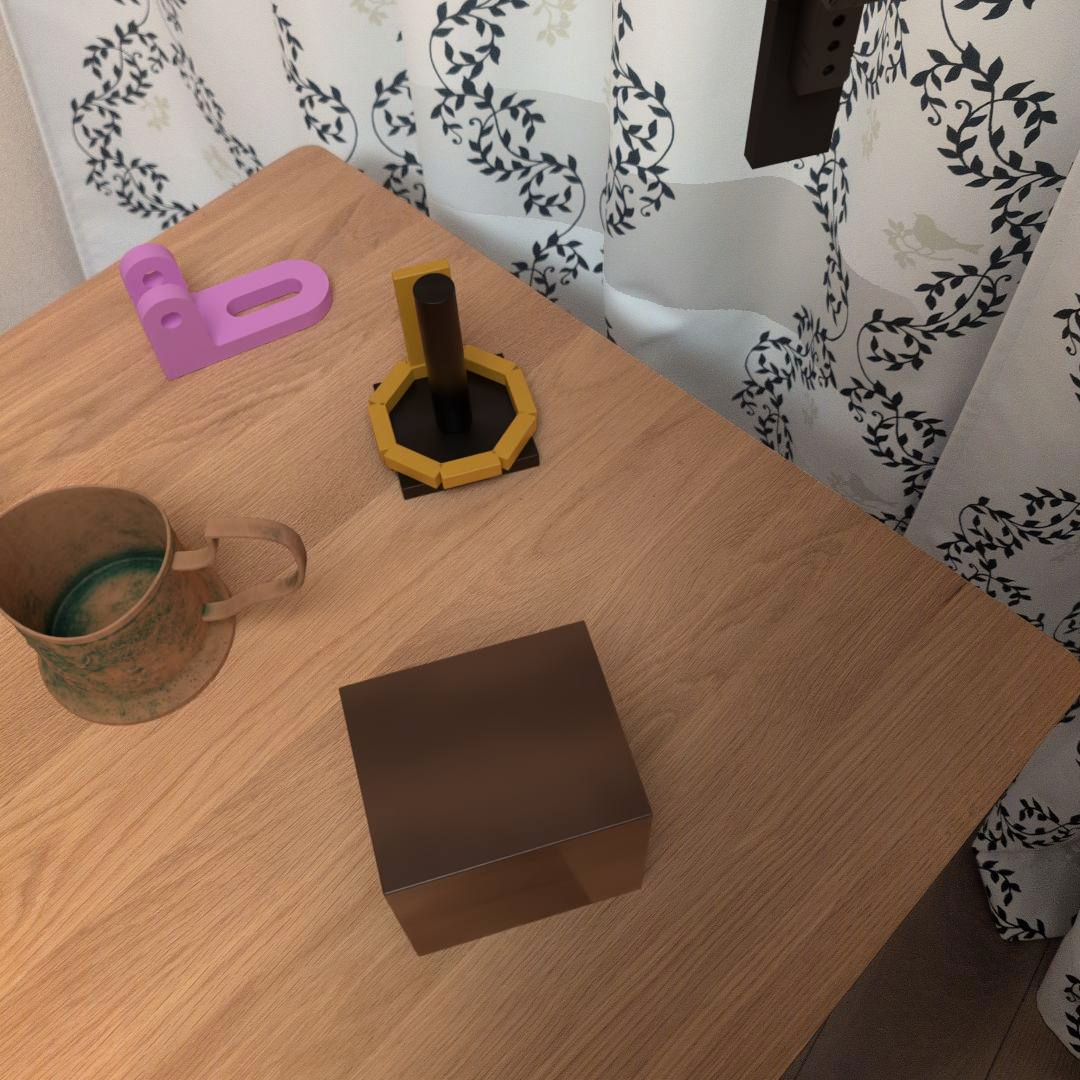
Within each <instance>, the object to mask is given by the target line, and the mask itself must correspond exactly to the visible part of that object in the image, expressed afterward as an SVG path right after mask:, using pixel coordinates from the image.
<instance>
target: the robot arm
mask: <svg viewBox="0 0 1080 1080" xmlns="http://www.w3.org/2000/svg"><path fill="white" fill-rule="evenodd" d="M882 1H883V2H884V0H766V1H765V6H764V7H765V8H764V13H763V20H762V26H761V27H762V28H761V34H760V41H759V48H758V55H757V61H756V69H755V75H754V83H753V89H752V96H751V103H750V110H749V116H748V123H747V131H746V137H745V144H744V150H743V156H744V158H745V160H746V162H747V163H748V165H749V167H750V169H751V170H757V169H761V168H766V167H770V166H775V165H779V164H783V163H787V162H791V161H796V160H800V159H805V158H810V157H813V156H817V155H822V154H826V153H829V152H830V148H831V143H832V139H833V134H834V130H835V126H836V121H837V117H838V111H839V107H840V103H841V99H842V93H843V89H844V85H845V83H846V80H847V79H848V77H849V74H850V71H851V67H852V62H853V59H852V58H853V57H854V53H855V49H856V48H855V46H856V44H857V39H858V35H859V31H860V26H861V21H862V17H863V12H864V9H865V5H870V4H873V3H878V2H882Z"/></svg>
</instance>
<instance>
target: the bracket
mask: <svg viewBox="0 0 1080 1080" xmlns="http://www.w3.org/2000/svg"><path fill="white" fill-rule="evenodd" d="M180 269H181V268H180V267H179V265H178V263H177V261H176V258H175V257H174V254H173V252H172V251H171V250H170V249H169V248H167V247H166V246H164V245H161V244H158V243H142V244H138V245H136V246H134V247H132V248H130V249H129V250H128V251H127V252H125V253H124V254H123V256H122V257H121V258H120V261H119V263H118V272H119V275H120V277H121V280H122V283H123V285H124V288H125V289H126V291H127V293H128V295H129V298H130V300H131V302H132V304H133V306H134V309H135V311H136V315H137V318H138V320H139V322H140V325H141V327H142V329H143V331H144V334H145V335H146V338H147V339H148V342H149V344H150V346H151V348H152V351H153V352H154V354H155V357H156V358H157V361H158V363H159V364H160V367H161V369H162V371H163V373H164V374H165V377H166V379H167V381H168V382H170V381H172V380H175V379H178V378H180V377H183V376H185V375H187V374H190V373H193V372H196V371H198V370H201V369H204V368H206V367H209V366H212V365H214V364H216V363H219V362H221V361H225V360H226V359H227V360H228V359H230V358H232V357H234V356H237V355H240V354H242V353H245V352H248V351H251V350H253V349H256V348H258V347H261V346H263V345H265V344H268V343H271V342H273V341H277V340H278V339H281V338H284V337H287V336H290V335H292V334H294V333H297V332H299V331H302V330H304V329H308V328H309V327H312V326H314V325H316V324H317V323H319V322H320V321H321V320H322V319H324V318H325V317H326V315H327V314H328V313H329V311H330V309H331V307H332V304H333V293H332V289H331V286H330V281H329V277H328V275H327V274H326V272H325V271H324V269H323V268H321V266H319V265H318V264H316V263H314V262H312V261H309V260H305V259H286V260H281V261H278V262H277V261H276V262H275V263H271V264H269V265H267V266H264V267H260V268H259V269H255V270H253V271H250V272H247V273H245V274H242V275H239V276H237V277H234V278H231V279H229V280H226V281H223V282H221V283H218V284H215V285H212V286H210V287H207V288H205V289H204V288H203V289H201V290H199V291H196V292H192V291H189V288H188V286H187V283H186V281H185V279H184V277H183V274H182V271H181V270H180ZM149 272H151V273H149ZM292 293H297V294H296V295H294V296H291V297H289V298H287V299H284V300H281V301H279V302H276V303H273V304H270V305H268V306H265V307H262V308H259V309H257V310H254V311H252V312H248V313H247V314H244V315H241V316H236V315H237V314H238V313H241V312H244V311H247V310H249V309H251V308H254V307H257V306H260V305H262V304H265V303H268V302H270V301H273V300H275V299H278V298H280V297H283V296H284V297H285V296H286V295H288V294H289V295H290V294H292Z"/></svg>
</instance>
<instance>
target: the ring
mask: <svg viewBox="0 0 1080 1080" xmlns="http://www.w3.org/2000/svg"><path fill="white" fill-rule="evenodd" d="M429 273H441V274H445V275H447V276H448V277H450V278H451V279H452V274H451V265H450V263H449V260H448V258H442V259H437V260H433V261H429V262H425V263H421V264H416V265H411V266H408V267H403V268H398V269H394V270H391V271H390V274H391V278H392V284H393V289H394V294H395V298H396V305H397V308H398V314H399V320H400V325H401V330H402V334H403V339H404V344H405V345H404V346H405V349H406V356H405V361H404V360H397V362H396V363H395V365H394V366H393V367H392V369H391V370H390V371H389V373H388V374H387V375H386V377H385V378H384V379H383V380H382V381H381V382H382V383H381V384H380V386H379V387H378V388H377V389H376V391H375V392H373V393H372V394H371V396H370V397H369V398H368V405H367V406H366V407H367V412H368V417H369V420H370V424H371V427H372V431H373V435H374V439H375V443H376V446H377V449H378V454H379V457H380V461H382V462H385V466H386V467H387V468H390V469H392V470H394V471H395V472H396V471H398V472H400V473H402V474H405V475H407V476H409V477H411V478H414V479H416V480H418V481H420V482H422V483H425V484H427V485H429V486H431V487H434V488H436V489H437V487H438V486H439V485H440V483H441V482H442V484H443V488H444V489H446V490H448V489H447V488H450V489H452V488H451V487H454V488H456V487H455V486H458V487H460V486H459V485H462V486H464V485H463V484H466V485H468V484H467V483H469V484H472V483H471V482H473V483H476V482H475V481H477V482H479V481H478V480H481V481H483V480H482V479H485V480H487V479H486V478H489V479H491V478H490V477H493V478H495V477H494V476H497V477H499V476H498V475H500V476H502V475H501V474H502V468H504V469H506V470H509V469H510V467H511V466H512V464H513V463H514V461H515V460H516V458H517V457H518V455H519V454H520V452H521V451H522V449H523V448H524V446H525V445H526V443H527V442H528V441H529V439H530V438H531V436H533V435H534V434H535V432H536V431H537V428H538V425H537V423H538V410H537V407H536V404H535V402H534V399H533V396H532V393H531V390H530V388H529V386H528V383H527V380H526V378H525V374H524V372H523V369H522V368H518V367H517V365H518V364H517V363H516V362H514V361H511V360H509V359H506V358H505V357H504V358H502V357H499V356H497V355H495V354H494V353H492V352H489V351H486V350H484V349H481V348H479V347H478V346H477V347H476V346H474V345H472V344H469V343H467V344H466V345H465V346H464V347H463V351H464V358H465V365H466V369H467V370H469V371H471V372H474V373H476V374H479V375H481V376H484V377H486V378H489V379H491V380H493V381H496V382H498V383H501V384H503V385H506V388H507V390H508V393H509V396H510V399H511V402H512V404H513V407H514V410H515V413H516V417H515V419H514V420H513V422H512V423H511V425H510V426H509V427H508V429H507V430H506V432H505V433H504V435H503V436H502V437H501V439H500V440H499V442H498V443H497V445H496V446H495V448H494V449H493V450H492V451H488V452H484V453H480V454H476V455H473V456H469V457H465V458H461V459H457V460H453V461H449V462H445V463H439V462H437V461H435V460H432V459H430V458H428V457H426V456H423V455H421V454H419V453H417V452H414V451H412V450H410V449H407V448H405V447H403V446H401V445H398V444H397V443H396V440H395V436H394V432H393V429H392V425H391V422H390V418H389V415H388V414H389V413H390V412H391V410H392V409H393V408H394V406H395V405H396V404H397V402H398V401H399V400H400V398H401V397H402V396H403V395H404V393H405V392H406V391H407V389H408V388H409V387H410V385H411V384H412V383H413V381H414V380H416V379H420V378H424V377H428V375H427V369H426V364H425V358H424V352H423V347H422V341H421V336H420V330H419V324H418V319H417V313H416V308H415V302H414V296H413V285H414V283H415V282H416V281H417V280H418V279H419V278H420V277H422V276H423V275H426V274H429Z"/></svg>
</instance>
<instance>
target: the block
mask: <svg viewBox="0 0 1080 1080" xmlns="http://www.w3.org/2000/svg"><path fill="white" fill-rule="evenodd" d="M589 631H590V630H589V628H588V625H587V623H586V621H585V620H584V619H582V620H578V621H574V622H571V623H567V624H564V625H561V626H556V627H553V628H550V629H545V630H542V631H539V632H535V633H531V634H528V635H524V636H520V637H517V638H512V639H510V640H506V641H502V642H499V643H494V644H492V645H488V646H484V647H481V648H476V649H474V650H473V649H472V650H470V651H466V652H462V653H459V654H455V655H451V656H448V657H445V658H440V659H437V660H433V661H430V662H426V663H423V664H419V665H416V666H411V667H407V668H405V669H401V670H397V671H393V672H391V673H386V674H383V675H379V676H376V677H371V678H368V679H365V680H361V681H357V682H354V683H349V684H347V685H343V686H340V687H338V693H339V698H340V702H341V707H342V712H343V716H344V721H345V725H346V730H347V734H348V739H349V744H350V748H351V753H352V757H353V762H354V767H355V771H356V776H357V780H358V785H359V786H358V787H359V791H360V794H361V799H362V804H363V808H364V813H365V817H366V822H367V826H368V827H367V828H368V832H369V837H370V841H371V846H372V849H373V855H374V859H375V863H376V868H377V872H378V876H379V877H378V878H379V882H380V887H381V892H382V895H383V897H384V898H385V901H386V902H387V904H388V906H389V907H390V909H391V911H392V914H393V915H394V916H395V918H396V920H397V922H398V923H399V925H400V927H401V929H402V930H403V932H404V934H405V936H406V938H407V939H408V941H409V943H410V944H411V946H412V948H413V951H415V954H416V955H417V957H423V956H426V955H429V954H433V953H435V952H436V953H437V952H440V951H442V950H446V949H449V948H453V947H456V946H458V945H459V946H460V945H463V944H465V943H468V942H472V941H475V940H478V939H482V938H484V937H488V936H492V935H494V934H499V933H501V932H504V931H508V930H511V929H514V928H517V927H520V926H524V925H527V924H530V923H534V922H537V921H540V920H543V919H547V918H550V917H554V916H556V915H560V914H563V913H566V912H569V911H573V910H575V909H579V908H582V907H585V906H589V905H592V904H595V903H598V902H601V901H605V900H608V899H611V898H614V897H617V896H621V895H624V894H628V893H631V892H634V891H638V890H640V889H642V885H643V879H644V874H645V866H646V861H647V854H648V848H649V843H650V837H651V836H650V835H651V829H652V823H653V818H654V812H653V809H652V807H651V804H650V801H649V798H648V795H647V793H646V790H645V787H644V784H643V781H642V778H641V775H640V773H639V770H638V767H637V764H636V761H635V759H634V756H633V753H632V751H631V747H630V744H629V741H628V739H627V735H626V733H625V730H624V727H623V725H622V721H621V719H620V716H619V713H618V710H617V707H616V705H615V702H614V699H613V696H612V693H611V690H610V688H609V685H608V683H607V680H606V677H605V674H604V671H603V668H602V665H601V662H600V660H599V656H598V654H597V651H596V648H595V646H594V643H593V639H592V637H591V635H590V634H591V633H590V632H589Z"/></svg>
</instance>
